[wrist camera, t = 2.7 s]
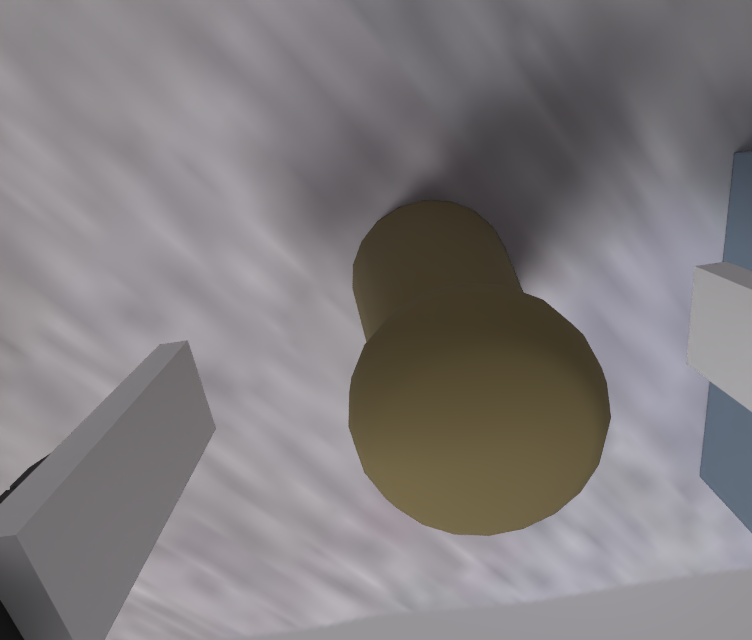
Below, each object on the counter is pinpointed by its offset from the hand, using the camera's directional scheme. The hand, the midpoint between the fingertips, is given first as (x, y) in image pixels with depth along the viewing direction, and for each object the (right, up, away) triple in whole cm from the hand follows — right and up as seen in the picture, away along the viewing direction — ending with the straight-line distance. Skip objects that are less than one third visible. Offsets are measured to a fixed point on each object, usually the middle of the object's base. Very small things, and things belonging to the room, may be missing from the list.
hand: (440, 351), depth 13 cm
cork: (0, +2, +6) cm, 7 cm away
